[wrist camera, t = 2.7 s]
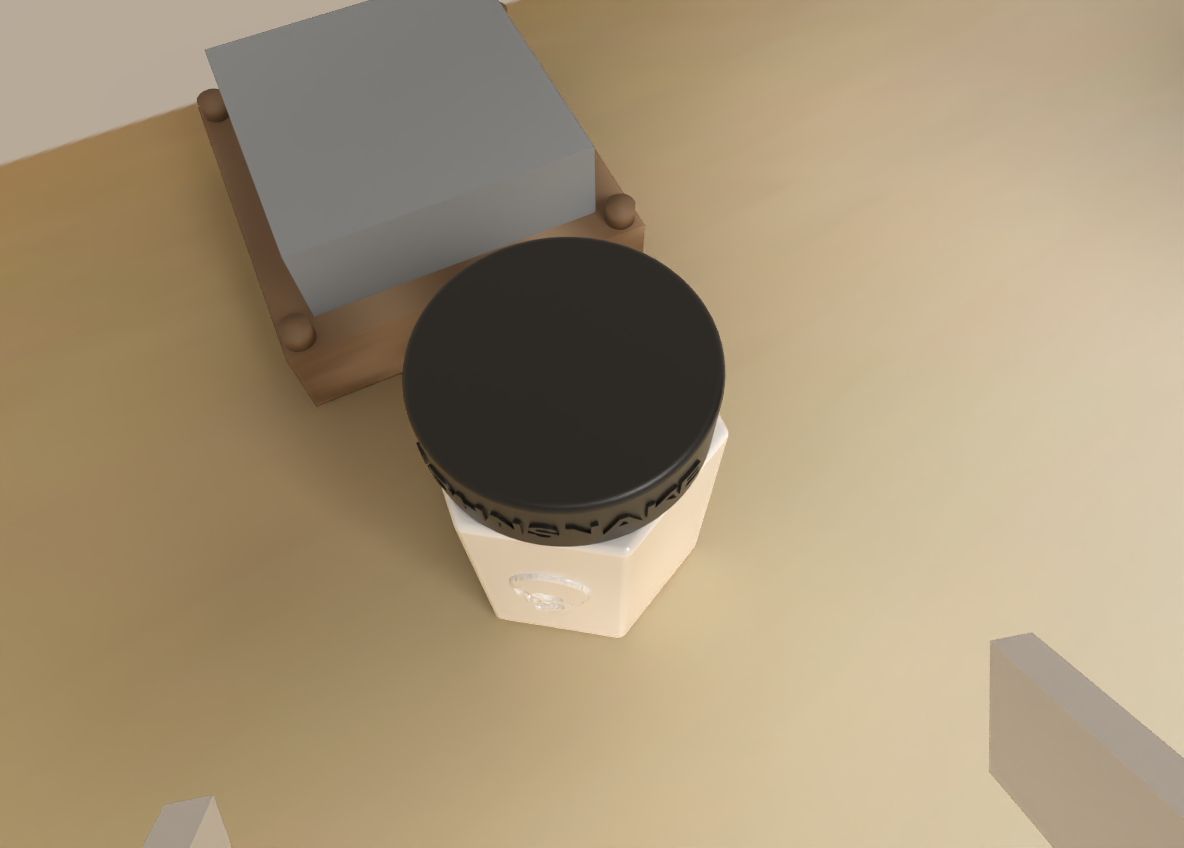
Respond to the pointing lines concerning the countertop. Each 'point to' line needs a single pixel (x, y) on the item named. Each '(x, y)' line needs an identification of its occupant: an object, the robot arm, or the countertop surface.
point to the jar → (569, 425)
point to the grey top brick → (400, 141)
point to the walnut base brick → (381, 321)
